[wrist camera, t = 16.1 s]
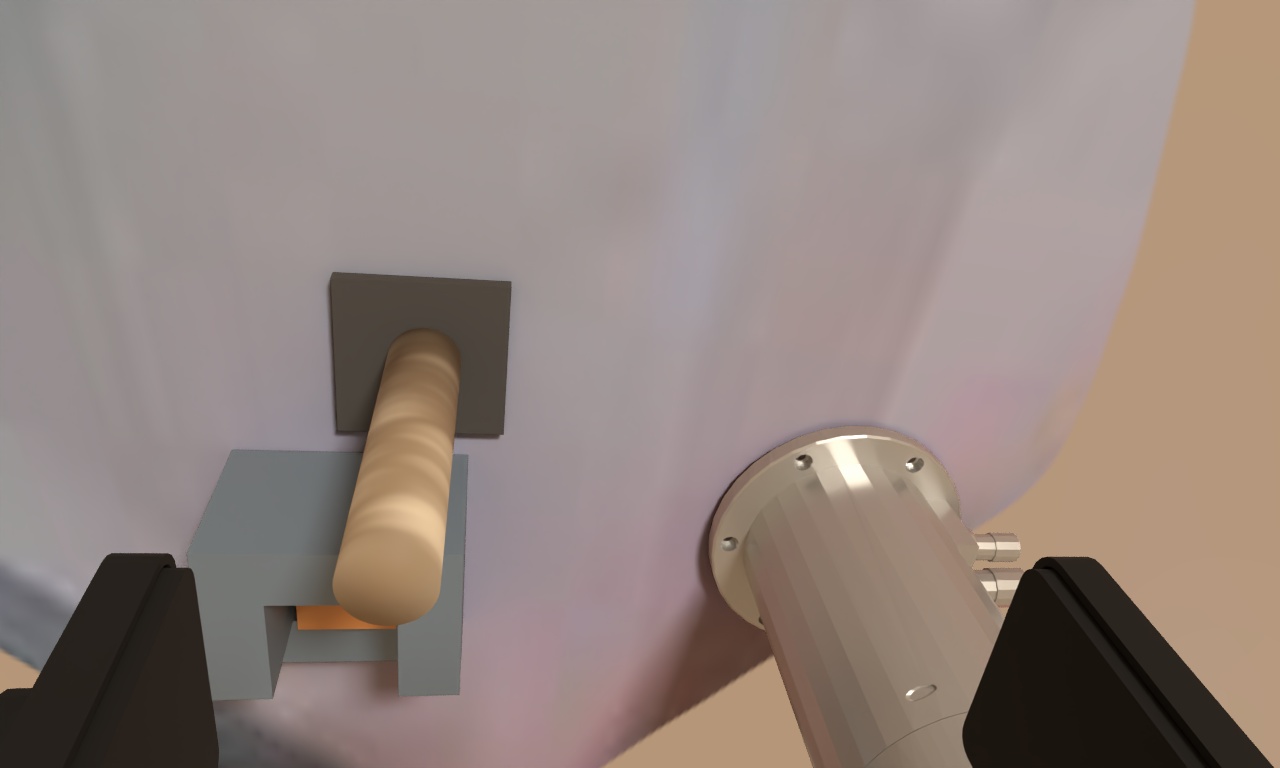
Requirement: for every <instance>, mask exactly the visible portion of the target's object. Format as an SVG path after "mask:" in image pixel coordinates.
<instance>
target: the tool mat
mask: <svg viewBox="0 0 1280 768" xmlns="http://www.w3.org/2000/svg"><path fill="white" fill-rule="evenodd" d="M331 297H332V319H333V341H334V363H335V386H336V408H337V430H342V431H369V429H370V425H371V421H372V416H373V412H374V408H375V404H376V400H377V396H378V392H379V388H380V384H381V379H382V375H383V371H384V367H385V363H386V359H387V355H388V351H389V348H390V346H391V344H392V342H393V341H394V340H395V339H396V338H397V337H398V336H399V335H401V334H402V333H404V332H406V331H408V330H411V329H415V328H430V329H435V330H437V331H440V332H442V333H444V334H445V335H447V336H448V337H450V338H451V339H452V340H453V341H454V342H455V344H456V345H457V347H458V349H459V351H460V354H461V372H460V383H459V393H458V404H457V415H456V426H455V433H461V434H500V435H503V434H504V415H505V396H506V378H507V359H508V340H509V321H510V302H511V282H509V281H490V280H471V279H452V278H433V277H414V276H395V275H376V274H358V273H339V272H333V273H332V276H331Z"/></svg>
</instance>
